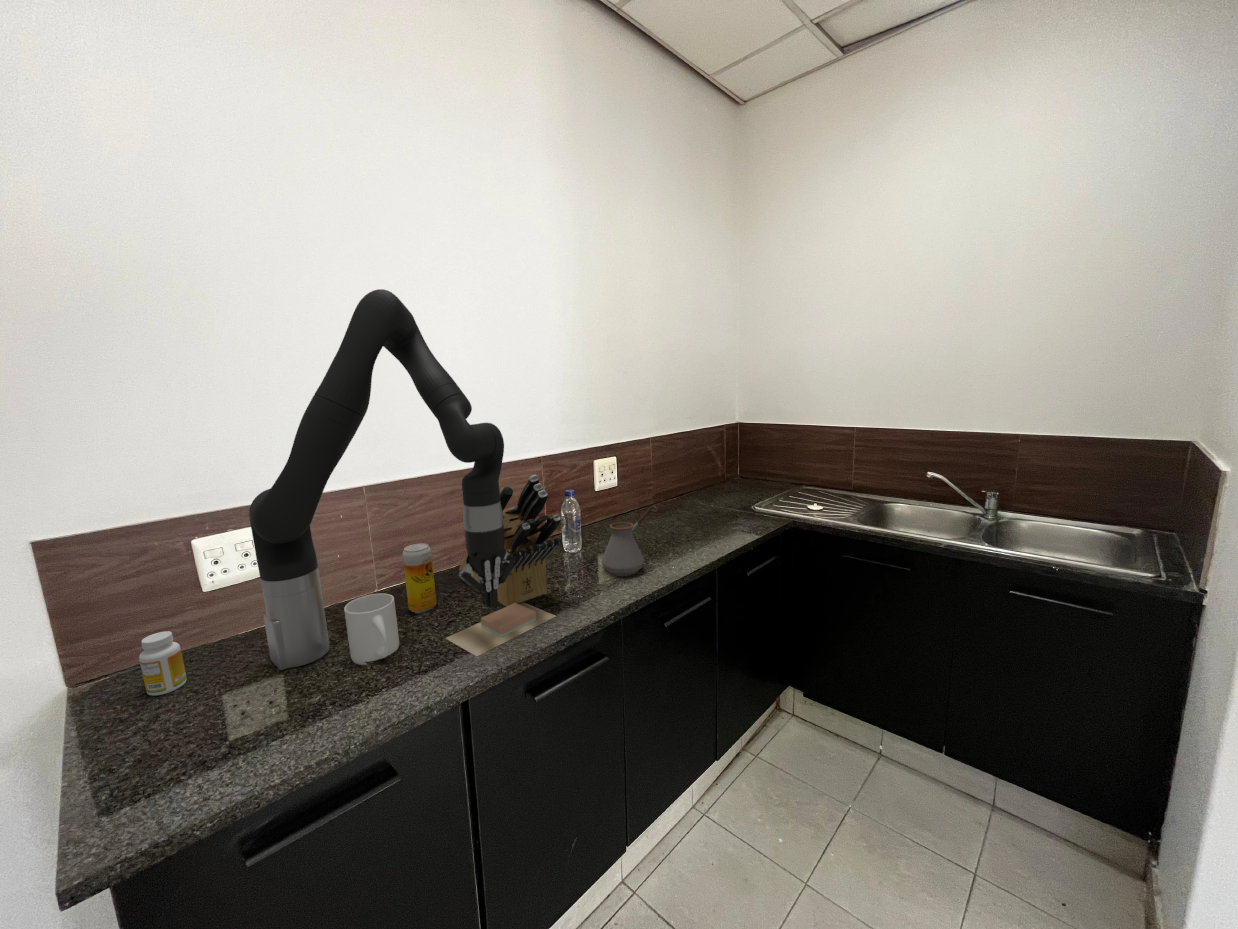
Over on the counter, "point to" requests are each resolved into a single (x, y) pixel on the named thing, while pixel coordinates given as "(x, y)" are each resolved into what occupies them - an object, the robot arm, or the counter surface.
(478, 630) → the board
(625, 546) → the coffee pot
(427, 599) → the beer can
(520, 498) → the knife block
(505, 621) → the pink rectangular block
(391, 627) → the mug
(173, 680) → the supplement bottle
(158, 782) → the counter surface
